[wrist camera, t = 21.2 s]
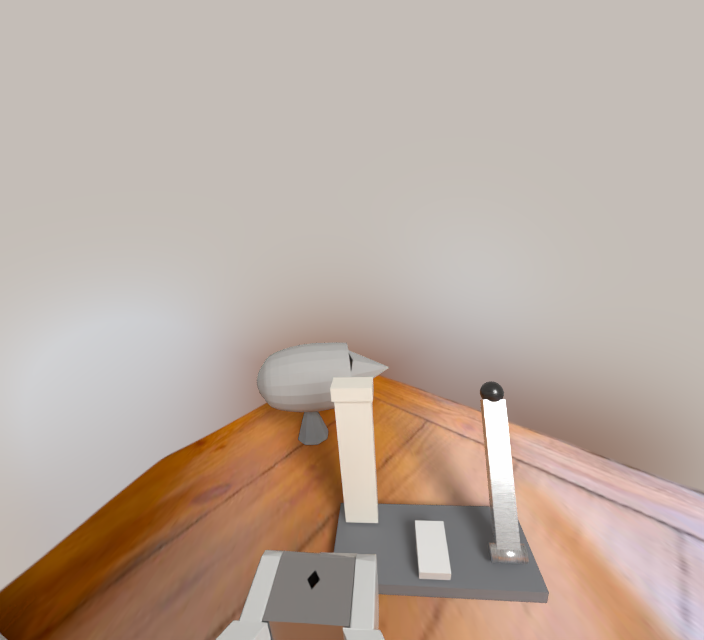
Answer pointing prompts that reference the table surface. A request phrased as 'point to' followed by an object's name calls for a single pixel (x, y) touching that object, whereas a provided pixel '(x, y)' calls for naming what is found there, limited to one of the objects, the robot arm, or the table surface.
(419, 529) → the block
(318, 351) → the jet engine
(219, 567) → the table surface
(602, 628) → the table surface
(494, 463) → the steel toggle lever
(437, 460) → the table surface
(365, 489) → the beige rectangular bar
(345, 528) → the console
